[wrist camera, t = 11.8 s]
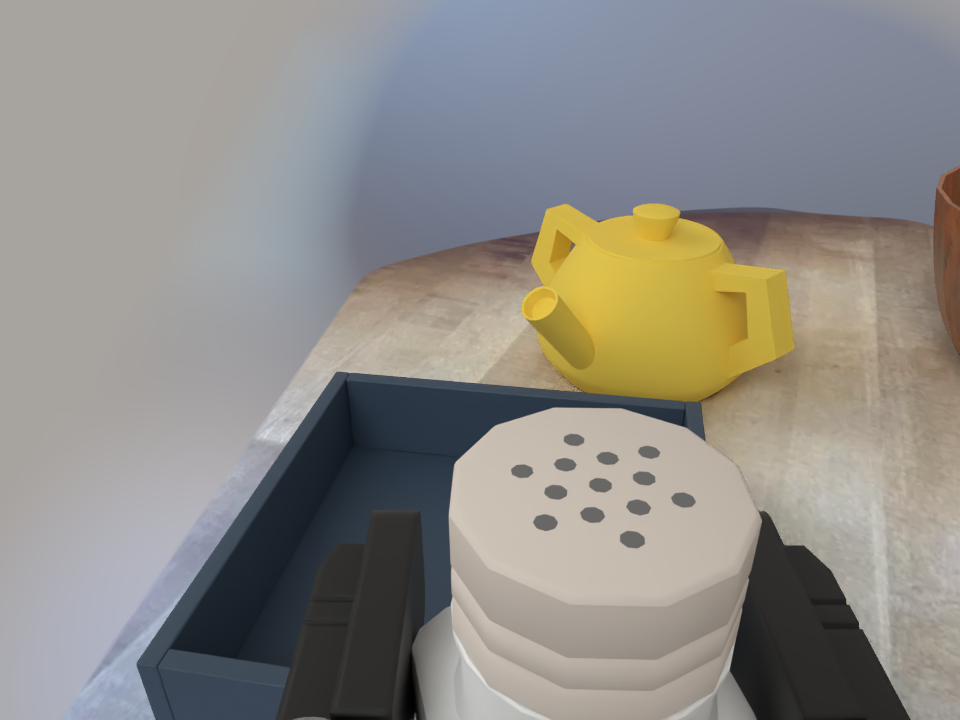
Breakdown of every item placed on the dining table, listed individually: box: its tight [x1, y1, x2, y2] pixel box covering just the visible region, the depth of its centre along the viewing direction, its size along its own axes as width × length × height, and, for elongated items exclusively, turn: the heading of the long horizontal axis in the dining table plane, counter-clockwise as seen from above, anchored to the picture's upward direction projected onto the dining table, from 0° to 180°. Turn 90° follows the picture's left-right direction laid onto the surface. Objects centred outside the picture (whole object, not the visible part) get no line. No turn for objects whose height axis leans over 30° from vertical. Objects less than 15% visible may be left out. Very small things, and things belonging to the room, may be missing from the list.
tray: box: [137, 372, 706, 720], centre depth 33 cm, size 20×20×5 cm
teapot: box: [521, 203, 795, 402], centre depth 49 cm, size 20×18×11 cm
